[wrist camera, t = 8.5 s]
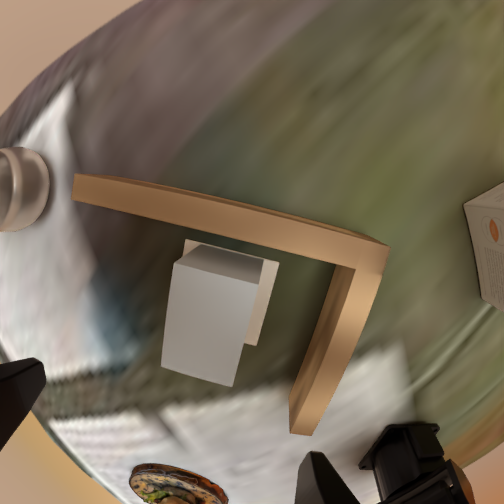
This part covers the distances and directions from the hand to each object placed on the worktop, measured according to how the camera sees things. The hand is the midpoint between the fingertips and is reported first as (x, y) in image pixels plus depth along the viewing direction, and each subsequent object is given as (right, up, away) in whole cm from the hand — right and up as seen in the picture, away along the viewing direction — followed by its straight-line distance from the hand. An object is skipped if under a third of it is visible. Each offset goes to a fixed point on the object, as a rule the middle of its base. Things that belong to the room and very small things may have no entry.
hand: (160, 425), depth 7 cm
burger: (-6, -23, +18) cm, 30 cm away
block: (+1, +2, +11) cm, 12 cm away
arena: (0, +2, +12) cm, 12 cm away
